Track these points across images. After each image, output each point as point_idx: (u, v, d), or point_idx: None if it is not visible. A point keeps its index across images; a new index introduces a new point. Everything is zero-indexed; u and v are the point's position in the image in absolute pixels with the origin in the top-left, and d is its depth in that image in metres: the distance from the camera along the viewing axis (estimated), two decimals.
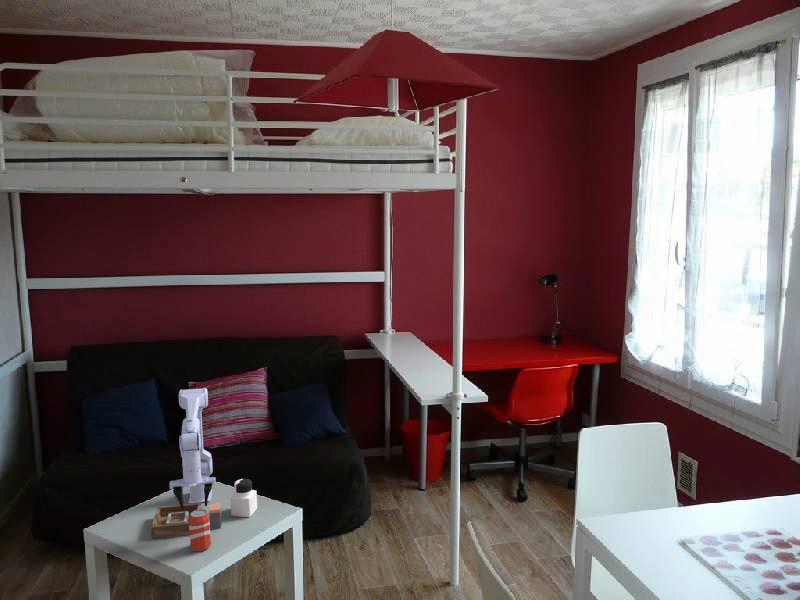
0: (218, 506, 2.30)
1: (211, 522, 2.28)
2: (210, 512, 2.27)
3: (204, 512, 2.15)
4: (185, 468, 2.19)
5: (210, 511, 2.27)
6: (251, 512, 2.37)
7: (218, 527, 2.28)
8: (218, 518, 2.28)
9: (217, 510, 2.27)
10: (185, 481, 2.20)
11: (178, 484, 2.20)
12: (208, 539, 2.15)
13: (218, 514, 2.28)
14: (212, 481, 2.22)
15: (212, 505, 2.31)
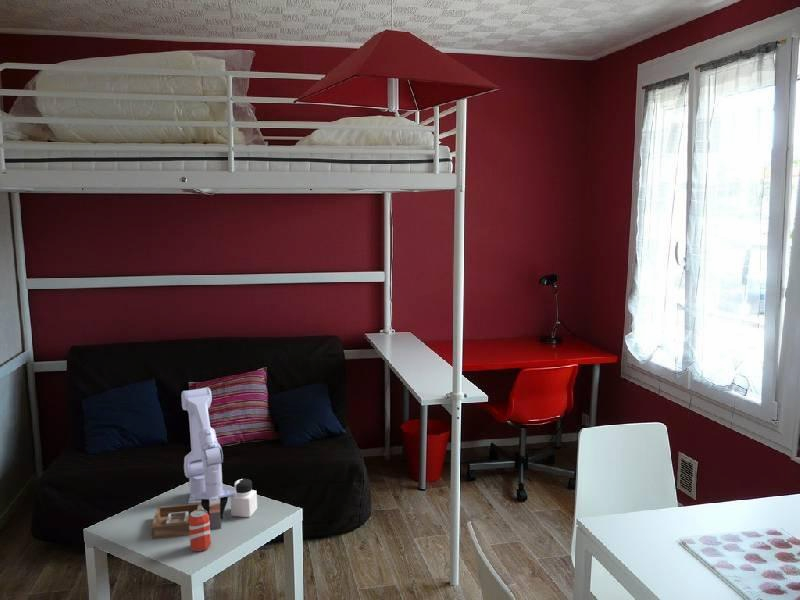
0: (218, 506, 2.30)
1: (211, 522, 2.28)
2: (210, 512, 2.27)
3: (204, 512, 2.15)
4: (209, 482, 2.25)
5: (210, 511, 2.27)
6: (251, 512, 2.37)
7: (218, 527, 2.28)
8: (218, 518, 2.28)
9: (217, 510, 2.27)
10: (207, 494, 2.26)
11: (200, 497, 2.26)
12: (208, 539, 2.15)
13: (218, 514, 2.28)
14: (233, 494, 2.29)
15: (212, 505, 2.31)
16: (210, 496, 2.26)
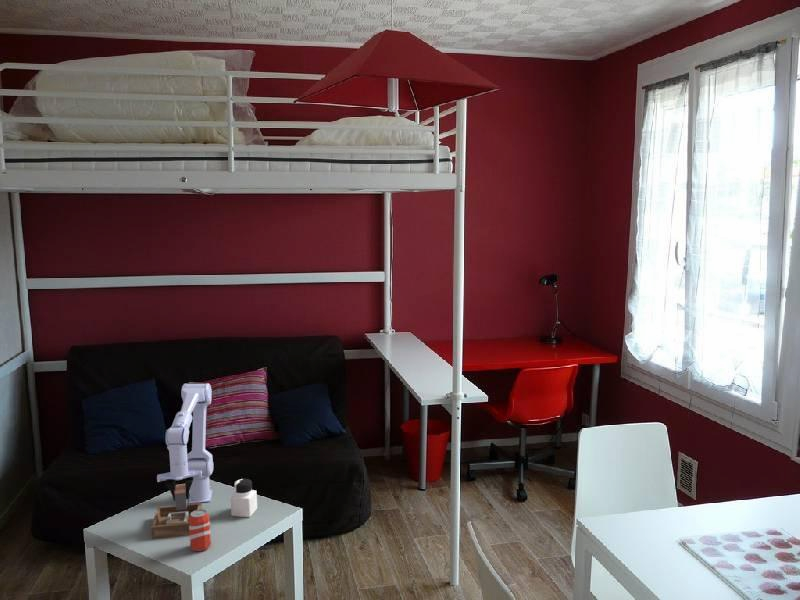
0: (184, 487, 2.29)
1: (176, 503, 2.27)
2: (175, 492, 2.26)
3: (204, 512, 2.15)
4: (171, 461, 2.25)
5: (175, 491, 2.26)
6: (251, 512, 2.37)
7: (183, 508, 2.27)
8: (183, 498, 2.27)
9: (182, 490, 2.27)
10: (172, 474, 2.25)
11: (165, 477, 2.25)
12: (208, 539, 2.15)
13: (183, 494, 2.27)
14: (199, 474, 2.28)
15: (178, 486, 2.30)
16: (175, 476, 2.25)
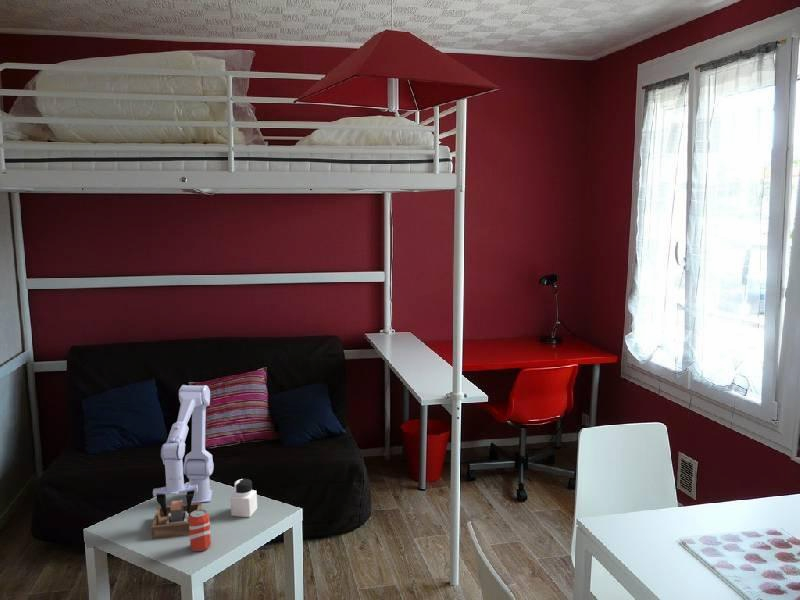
0: (180, 503, 2.30)
1: (172, 519, 2.28)
2: (171, 509, 2.27)
3: (204, 512, 2.15)
4: (166, 476, 2.26)
5: (171, 508, 2.27)
6: (251, 512, 2.37)
7: None
8: (179, 515, 2.28)
9: (178, 507, 2.28)
10: (168, 489, 2.26)
11: (161, 492, 2.26)
12: (208, 539, 2.15)
13: (179, 511, 2.28)
14: (194, 489, 2.29)
15: (174, 502, 2.31)
16: (171, 491, 2.26)
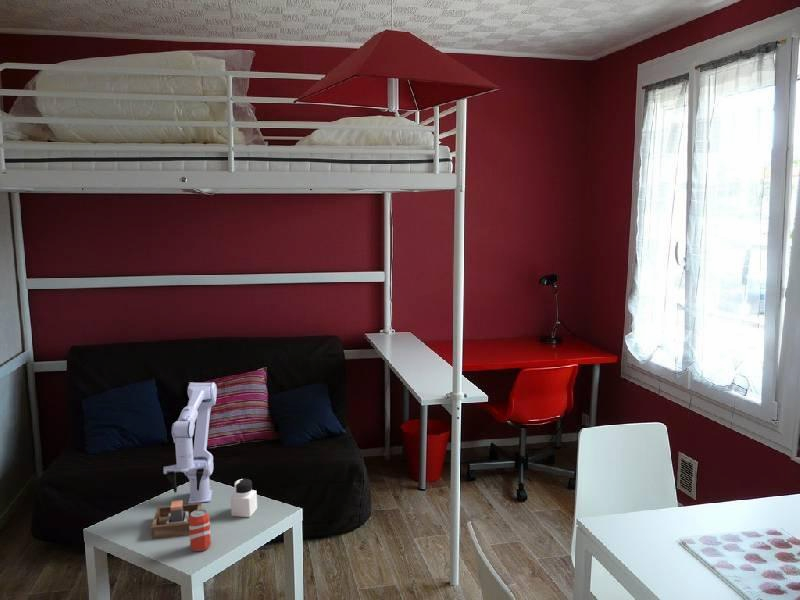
0: (180, 503, 2.30)
1: (172, 519, 2.28)
2: (171, 509, 2.27)
3: (204, 512, 2.15)
4: (177, 454, 2.31)
5: (171, 508, 2.27)
6: (251, 512, 2.37)
7: None
8: (179, 515, 2.28)
9: (178, 507, 2.28)
10: (178, 466, 2.32)
11: (171, 469, 2.32)
12: (208, 539, 2.15)
13: (179, 511, 2.28)
14: (204, 466, 2.35)
15: (174, 502, 2.31)
16: (181, 468, 2.31)
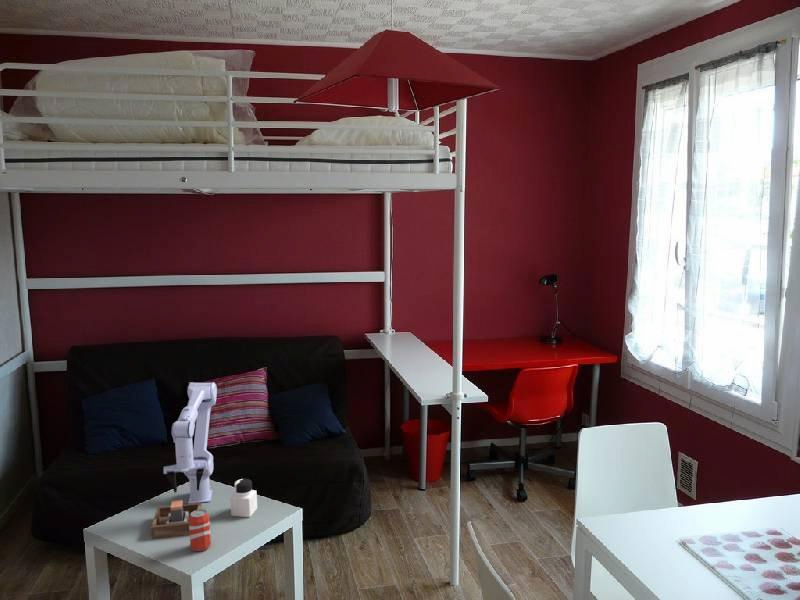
0: (180, 503, 2.30)
1: (172, 519, 2.28)
2: (171, 509, 2.27)
3: (204, 512, 2.15)
4: (177, 454, 2.31)
5: (171, 508, 2.27)
6: (251, 512, 2.37)
7: None
8: (179, 515, 2.28)
9: (178, 507, 2.28)
10: (178, 466, 2.32)
11: (171, 469, 2.32)
12: (208, 539, 2.15)
13: (179, 511, 2.28)
14: (204, 466, 2.35)
15: (174, 502, 2.31)
16: (181, 468, 2.31)
